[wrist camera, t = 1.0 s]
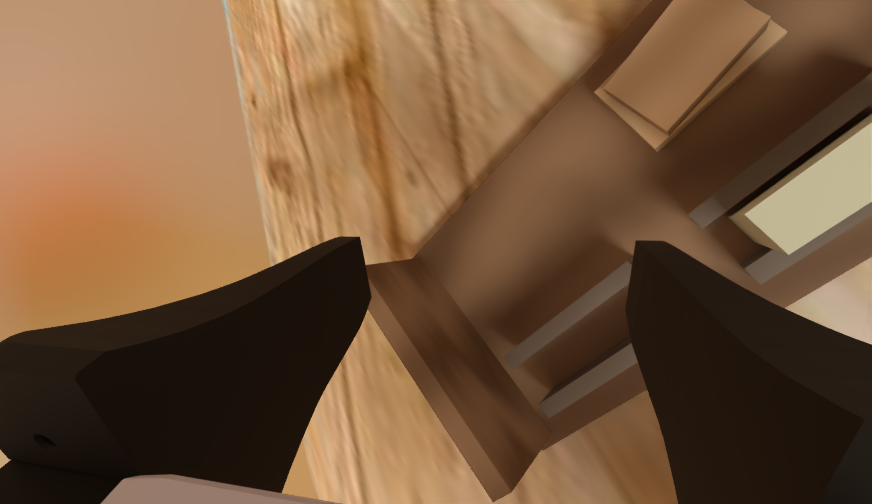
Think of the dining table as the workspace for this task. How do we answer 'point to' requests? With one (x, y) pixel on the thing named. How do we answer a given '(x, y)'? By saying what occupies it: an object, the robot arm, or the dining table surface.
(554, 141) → the rack
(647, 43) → the offcut upper
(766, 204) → the beige flat block
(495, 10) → the dining table surface
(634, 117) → the offcut lower
